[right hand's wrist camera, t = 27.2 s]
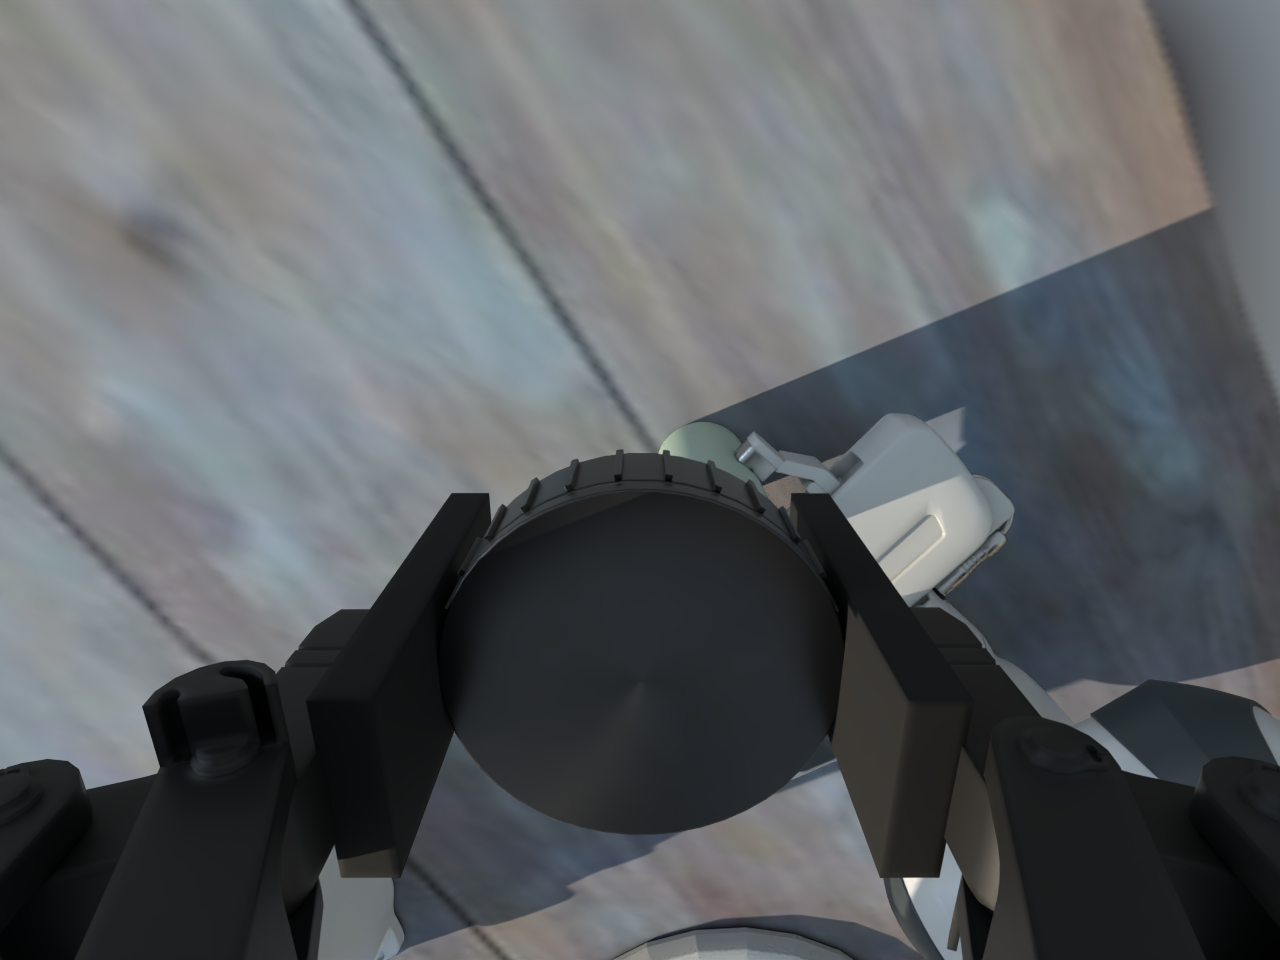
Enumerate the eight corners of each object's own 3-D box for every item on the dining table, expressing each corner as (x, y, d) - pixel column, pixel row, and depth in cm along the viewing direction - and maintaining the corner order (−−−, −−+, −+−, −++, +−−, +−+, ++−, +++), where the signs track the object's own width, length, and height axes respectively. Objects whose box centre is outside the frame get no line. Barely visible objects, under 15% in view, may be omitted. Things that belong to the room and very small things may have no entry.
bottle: (641, 484, 42) (639, 653, 25) (681, 406, 40) (710, 527, 23) (720, 521, 43) (771, 709, 25) (762, 445, 41) (849, 590, 24)
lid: (875, 688, 13) (909, 757, 11) (567, 808, 14) (558, 887, 12) (735, 380, 11) (752, 408, 9) (388, 545, 12) (347, 597, 10)
